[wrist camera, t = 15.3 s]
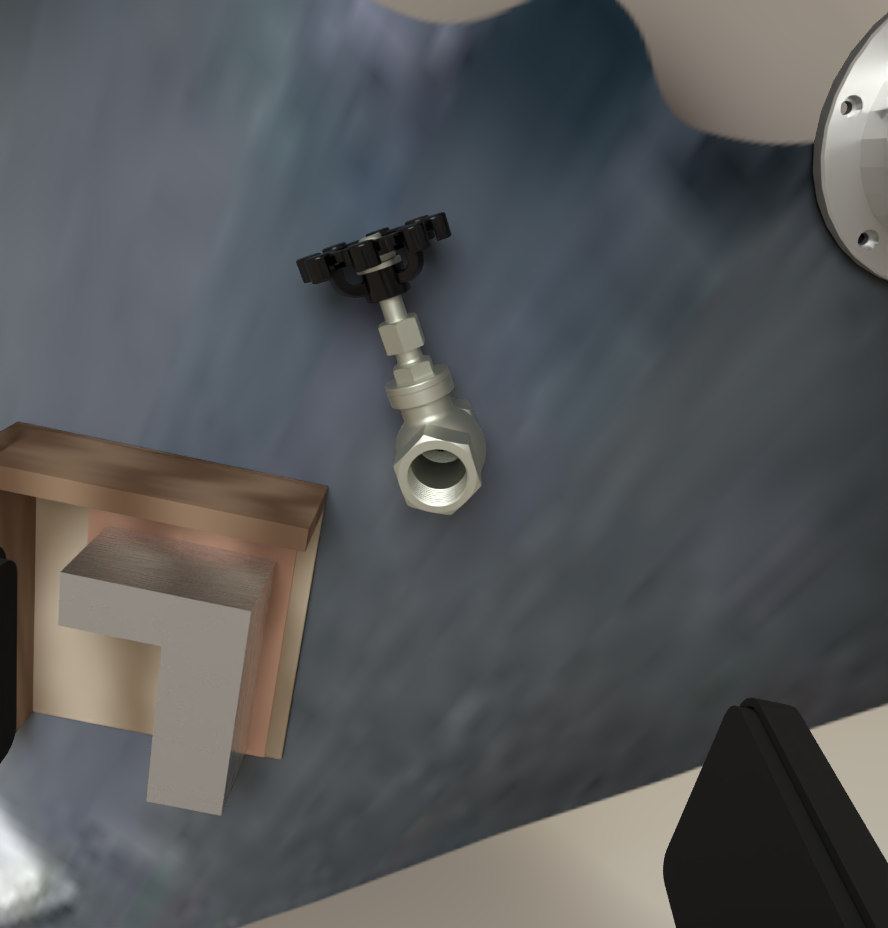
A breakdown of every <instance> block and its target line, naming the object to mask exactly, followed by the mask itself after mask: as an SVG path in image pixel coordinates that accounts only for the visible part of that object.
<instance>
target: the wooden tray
mask: <svg viewBox="0 0 888 928" xmlns="http://www.w3.org/2000/svg"><path fill="white" fill-rule="evenodd" d="M16 423H17V422H16ZM20 423H21V422H20ZM22 424H23V425H24V424H25V423H22ZM26 424H27V423H26ZM20 425H21V424H20ZM21 426H22V425H21ZM24 426H25V425H24ZM29 426H30V425H29ZM34 426H35V425H32V427H34ZM36 427H39V428H40V427H41V428H42V426H37V425H36ZM43 428H44V429H46V428H47V427H43ZM36 429H37V428H36ZM47 429H49V428H47ZM50 429H51V428H50ZM50 429H49V431H50ZM52 430H54V429H52ZM55 430H56V429H55ZM46 431H47V430H46ZM58 431H59V430H58ZM60 432H62V431H61V430H60ZM63 432H64V431H63ZM63 432H62V434H63ZM65 433H67V432H65ZM68 433H69V432H68ZM68 435H71V433H70V434H68ZM72 435H75V434H72ZM76 435H77V434H76ZM76 435H75V436H76ZM78 436H79V434H78ZM78 436H77V437H78ZM81 436H82V435H81ZM84 436H85V435H84ZM84 436H83V437H82V438H84ZM89 437H90V436H89ZM89 437H87V438H89ZM90 438H91V437H90ZM93 439H96V438H95V437H93ZM98 439H99V438H98ZM88 440H89V439H88ZM101 440H102V441H103V439H101ZM101 440H100V439H99V441H101ZM104 441H105V440H104ZM106 441H109V440H106ZM106 441H105V442H106ZM110 442H111V441H110ZM113 442H114V441H113ZM113 442H112V443H113ZM115 443H116V442H115ZM117 443H119V442H117ZM117 443H116V445H117ZM119 444H120V443H119ZM121 444H122V443H121ZM122 445H124V444H122ZM125 445H126V447H127V445H128V444H125ZM117 446H118V445H117ZM128 446H130V445H128ZM131 446H132V445H131ZM132 448H134V447H132ZM132 448H131V449H132ZM135 448H136V447H135ZM141 448H142V447H141ZM141 448H140V447H137V449H141ZM144 450H145V448H144ZM150 451H152V450H150ZM153 452H155V450H154V451H153ZM161 452H162V451H161ZM156 453H157V450H156ZM156 453H155V454H156ZM159 453H160V452H159ZM162 453H163V452H162ZM162 453H161V454H162ZM163 454H165V453H163ZM166 454H168V455H169V454H171V453H166ZM166 454H165V455H166ZM171 455H172V454H171ZM171 455H170V456H171ZM174 456H175V455H174ZM174 456H173V457H174ZM179 456H180V455H179ZM183 457H186V456H183ZM180 458H181V456H180ZM187 458H189V457H187ZM183 459H184V458H183ZM190 460H192V459H190ZM193 460H194V459H193ZM197 460H198V459H197ZM204 462H206V461H204ZM209 462H210V461H209ZM206 463H208V461H207V462H206ZM210 463H211V464H212V462H210ZM210 463H208V464H210ZM213 463H214V462H213ZM203 464H204V463H203ZM215 464H218V463H215ZM219 465H220V464H219ZM213 466H214V464H213ZM216 466H217V465H216ZM221 466H222V465H221ZM227 466H228V465H227ZM230 467H231V466H230ZM228 468H229V467H228ZM231 468H232V467H231ZM235 468H236V467H235ZM235 468H234V469H235ZM237 469H238V468H237ZM237 469H236V470H237ZM240 469H241V468H240ZM240 469H239V470H240ZM239 470H238V471H239ZM243 470H244V469H243ZM245 471H246V470H245ZM250 471H252V470H250ZM252 473H253V472H252ZM257 473H258V474H259V472H257ZM260 473H261V472H260ZM262 474H263V473H262ZM266 474H267V473H266ZM264 475H265V474H264ZM270 475H271V474H270ZM273 476H274V475H273ZM278 477H279V476H278ZM284 478H285V477H284ZM279 479H280V478H279ZM286 480H287V479H286ZM294 480H295V479H294ZM298 481H299V480H298ZM303 482H304V481H303ZM303 482H302V484H303ZM299 483H301V482H299ZM307 485H308V484H307ZM309 486H310V485H309ZM327 490H328V488H327ZM326 496H327V491H326ZM325 499H326V497H325ZM325 502H326V501H325ZM324 508H325V507H324ZM323 513H324V509H323V512H322V514H321V516H320V519H319V521H318V523H317V526H316V528H315V530H314V533H313V535H312V537H311V539H310V542H309V544H308V546H307V549H306V551H305V552H302V551H297V550H292V549H287V548H283V547H278V546H273V545H268V544H263V543H258V542H253V541H248V540H243V539H239V538H234V537H229V536H224V535H219V534H214V533H209V532H204V531H200V530H195V529H190V528H185V527H180V526H175V525H170V524H165V523H160V522H156V521H151V520H146V519H141V518H136V517H131V516H126V515H121V514H117V513H112V512H107V511H102V510H97V509H92V508H87V507H82V506H77V505H73V504H68V503H63V502H58V501H53V500H48V499H43V498H38V497H36V546H35V608H34V669H33V712H37V713H43V714H48V715H53V716H58V717H63V718H69V719H74V720H79V721H84V722H89V723H94V724H100V725H105V726H110V727H115V728H120V729H126V730H131V731H136V732H141V733H146V734H151V735H153V729H154V719H155V709H156V698H157V688H158V678H159V668H160V658H161V647H162V646H157V645H152V644H147V643H142V642H137V641H132V640H127V639H122V638H117V637H112V636H107V635H103V634H98V633H93V632H88V631H83V630H78V629H73V628H68V627H63V626H58V616H59V589H60V572H61V571H62V570H63V569H64V568H65V567H66V566H67V565H68V564H69V563H70V562H71V561H72V560H73V559H74V558H75V557H76V556H77V555H78V554H79V553H80V552H81V551H82V550H83V549H84V548H85V547H86V546H87V545H88V544H89V543H90V542H91V541H92V540H93V539H94V538H95V537H96V536H97V535H98V534H99V533H100V532H101V531H102V530H103V529H104V528H105V527H106V526H107V525H111V526H116V527H120V528H125V529H130V530H135V531H139V532H144V533H149V534H154V535H159V536H163V537H168V538H173V539H178V540H182V541H187V542H192V543H197V544H201V545H206V546H211V547H216V548H220V549H225V550H230V551H235V552H240V553H244V554H249V555H254V556H259V557H263V558H268V559H273V560H276V566H275V573H274V579H273V585H272V592H271V598H270V604H269V611H268V617H267V624H266V630H265V636H264V643H263V649H262V656H261V662H260V668H259V675H258V681H257V688H256V694H255V700H254V707H253V713H252V720H251V726H250V732H249V739H248V745H247V750H246V753H245V754H248V755H254V756H259V757H264V756H265V757H271V758H276V759H281V758H282V754H283V748H284V743H285V737H286V731H287V725H288V719H289V713H290V707H291V701H292V696H293V690H294V684H295V678H296V672H297V666H298V660H299V654H300V649H301V643H302V637H303V631H304V625H305V619H306V613H307V607H308V602H309V596H310V590H311V584H312V578H313V572H314V566H315V560H316V555H317V549H318V543H319V537H320V531H321V525H322V519H323Z"/></svg>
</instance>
